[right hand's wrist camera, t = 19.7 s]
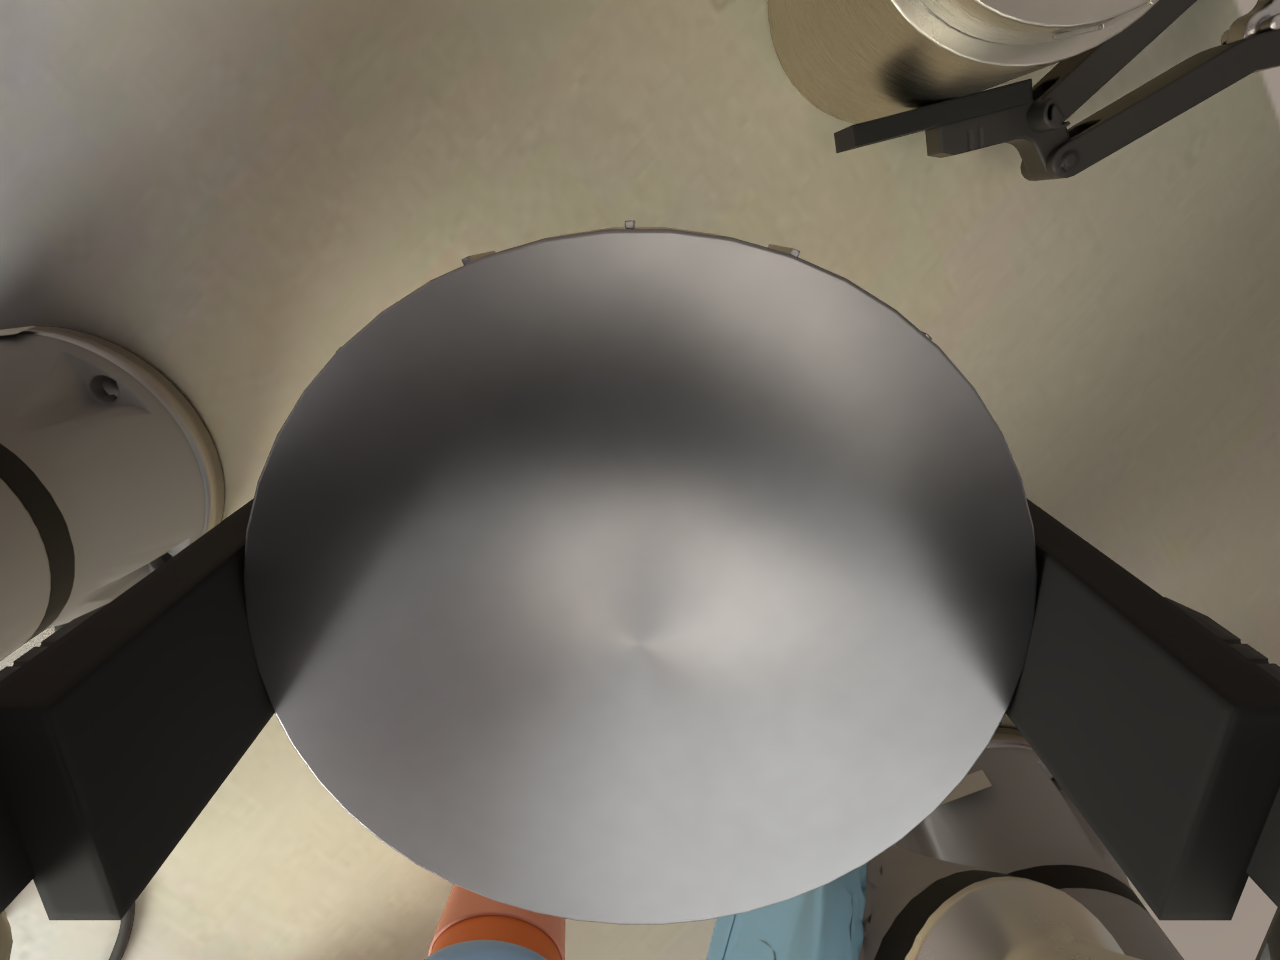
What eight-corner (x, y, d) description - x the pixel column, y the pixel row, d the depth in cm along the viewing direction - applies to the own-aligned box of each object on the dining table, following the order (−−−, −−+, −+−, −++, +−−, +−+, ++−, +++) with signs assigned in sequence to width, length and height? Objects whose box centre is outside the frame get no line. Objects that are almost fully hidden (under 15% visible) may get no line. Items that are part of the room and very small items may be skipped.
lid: (600, 37, 9) (587, -17, 7) (1107, 539, 12) (1210, 608, 10) (189, 594, 12) (93, 673, 10) (667, 903, 15) (672, 1018, 13)
